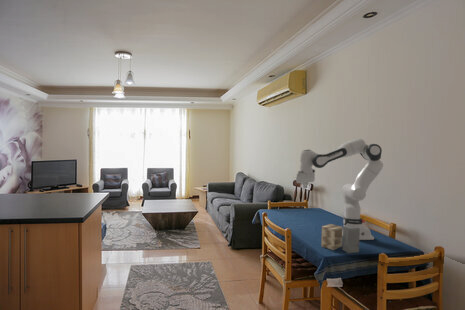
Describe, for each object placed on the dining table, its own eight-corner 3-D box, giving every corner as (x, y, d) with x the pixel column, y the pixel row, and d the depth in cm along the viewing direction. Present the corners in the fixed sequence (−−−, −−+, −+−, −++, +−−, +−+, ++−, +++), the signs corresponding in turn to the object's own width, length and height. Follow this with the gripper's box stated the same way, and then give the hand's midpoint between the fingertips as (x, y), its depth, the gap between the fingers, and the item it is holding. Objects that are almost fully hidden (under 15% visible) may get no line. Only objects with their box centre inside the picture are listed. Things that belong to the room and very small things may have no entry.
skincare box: (348, 253, 191) (348, 228, 190) (341, 249, 198) (342, 225, 197) (359, 252, 193) (360, 228, 192) (352, 248, 200) (353, 225, 199)
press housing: (321, 246, 203) (321, 226, 202) (329, 243, 210) (330, 223, 210) (333, 250, 196) (334, 229, 196) (341, 246, 204) (342, 226, 203)
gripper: (301, 171, 226) (300, 189, 226) (316, 170, 240) (315, 187, 240) (294, 170, 231) (293, 188, 231) (309, 169, 244) (308, 186, 245)
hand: (305, 188), depth 236 cm, fingers closed
